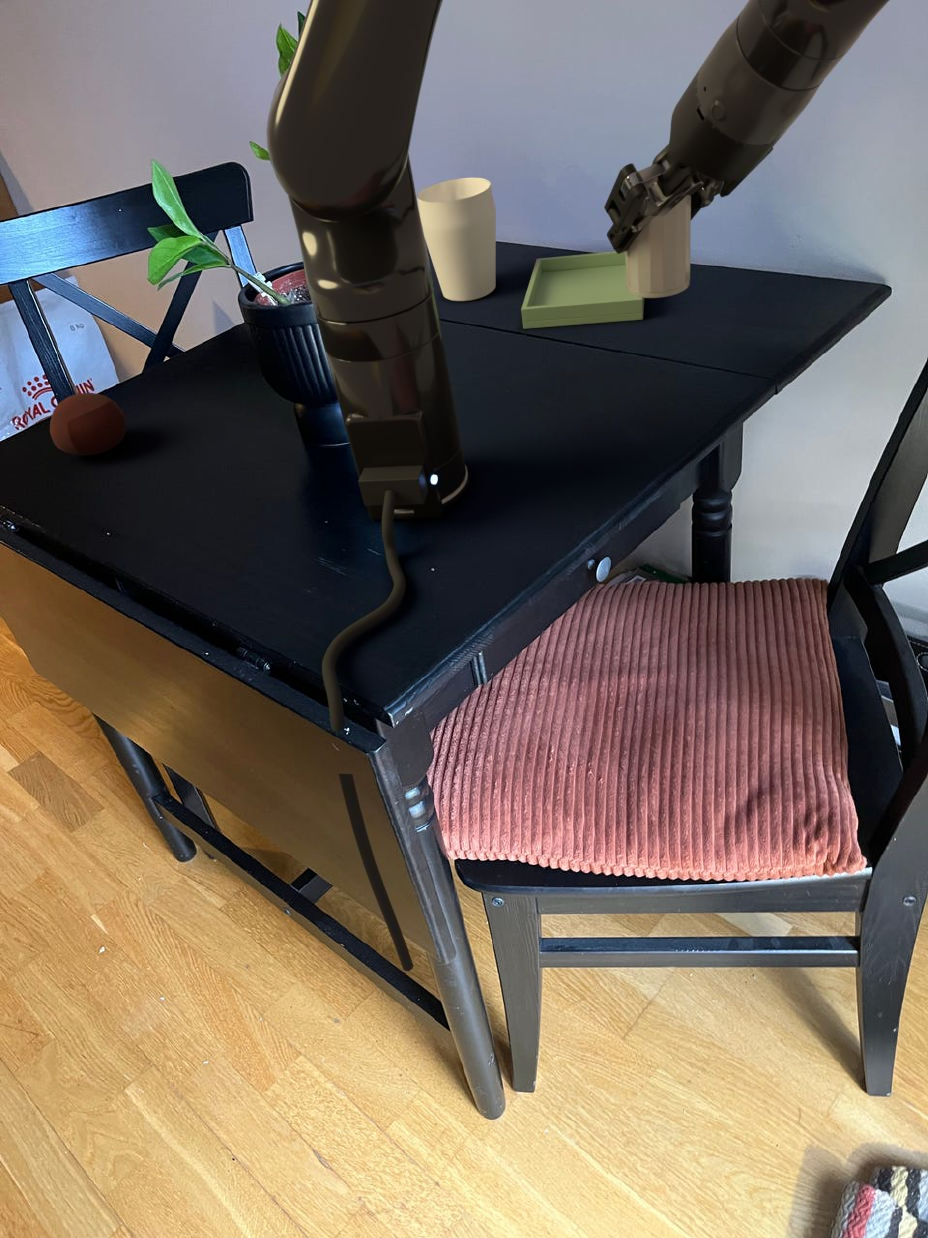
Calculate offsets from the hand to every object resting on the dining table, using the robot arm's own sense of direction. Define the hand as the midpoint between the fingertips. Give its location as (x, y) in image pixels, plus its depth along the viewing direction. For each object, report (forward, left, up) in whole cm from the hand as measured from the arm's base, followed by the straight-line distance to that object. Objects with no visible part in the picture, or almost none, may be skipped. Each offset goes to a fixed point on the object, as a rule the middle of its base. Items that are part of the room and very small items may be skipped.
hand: (644, 232), depth 80 cm
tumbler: (-1, -1, -4) cm, 5 cm away
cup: (+27, +23, -14) cm, 38 cm away
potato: (-8, +57, -14) cm, 59 cm away
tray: (+22, +8, -14) cm, 27 cm away
